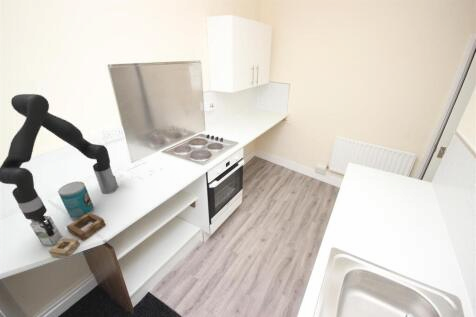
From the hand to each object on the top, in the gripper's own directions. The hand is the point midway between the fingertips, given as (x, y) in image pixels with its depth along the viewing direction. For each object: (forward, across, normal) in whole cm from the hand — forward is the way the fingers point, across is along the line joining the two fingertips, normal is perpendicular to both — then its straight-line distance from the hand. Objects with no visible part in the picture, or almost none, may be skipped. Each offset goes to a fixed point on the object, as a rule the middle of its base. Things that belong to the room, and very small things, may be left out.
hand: (46, 232), depth 105 cm
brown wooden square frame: (+6, -8, -13) cm, 17 cm away
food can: (+6, +7, -20) cm, 22 cm away
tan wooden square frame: (+6, -12, 0) cm, 14 cm away
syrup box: (+7, 0, 0) cm, 7 cm away
